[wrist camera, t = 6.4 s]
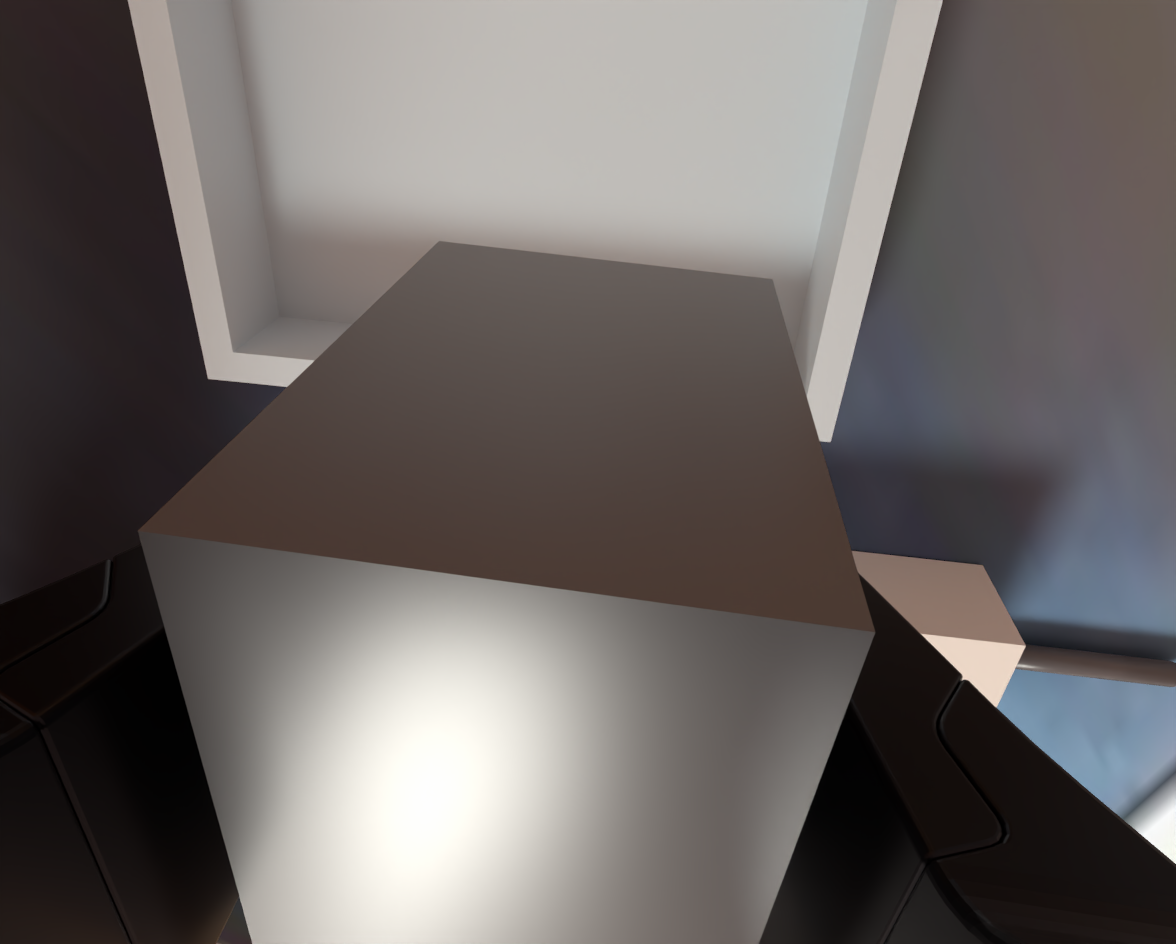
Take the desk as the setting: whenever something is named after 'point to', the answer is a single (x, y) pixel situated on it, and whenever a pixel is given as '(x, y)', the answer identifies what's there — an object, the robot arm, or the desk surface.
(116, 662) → the robot arm
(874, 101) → the tray
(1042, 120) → the desk surface
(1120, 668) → the power strip
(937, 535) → the desk surface
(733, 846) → the charger
